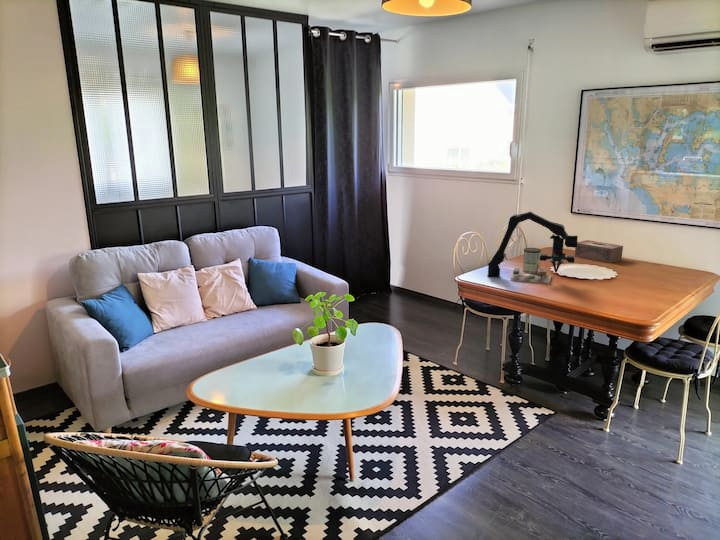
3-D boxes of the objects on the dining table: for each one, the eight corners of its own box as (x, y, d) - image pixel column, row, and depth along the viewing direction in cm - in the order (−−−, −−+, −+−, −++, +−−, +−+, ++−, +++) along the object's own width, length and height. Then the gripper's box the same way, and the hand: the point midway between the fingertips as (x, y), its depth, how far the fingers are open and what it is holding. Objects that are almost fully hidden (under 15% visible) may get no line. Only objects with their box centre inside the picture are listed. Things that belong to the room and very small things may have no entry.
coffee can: (520, 269, 332) (522, 247, 328) (537, 269, 331) (538, 247, 327) (524, 273, 322) (525, 251, 318) (541, 273, 321) (542, 251, 317)
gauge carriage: (531, 279, 302) (531, 272, 301) (532, 274, 311) (532, 268, 310) (545, 280, 299) (546, 273, 298) (546, 275, 308) (546, 269, 307)
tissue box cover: (574, 256, 362) (575, 242, 359) (586, 253, 370) (587, 240, 367) (610, 263, 342) (611, 248, 339) (621, 260, 350) (623, 245, 347)
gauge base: (510, 280, 307) (511, 272, 306) (512, 275, 318) (513, 267, 317) (549, 283, 299) (550, 274, 298) (550, 277, 310) (551, 269, 309)
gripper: (540, 248, 294) (538, 274, 298) (575, 250, 287) (573, 277, 291) (541, 244, 304) (539, 270, 308) (575, 246, 297) (572, 272, 301)
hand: (555, 272), depth 302 cm, fingers closed
